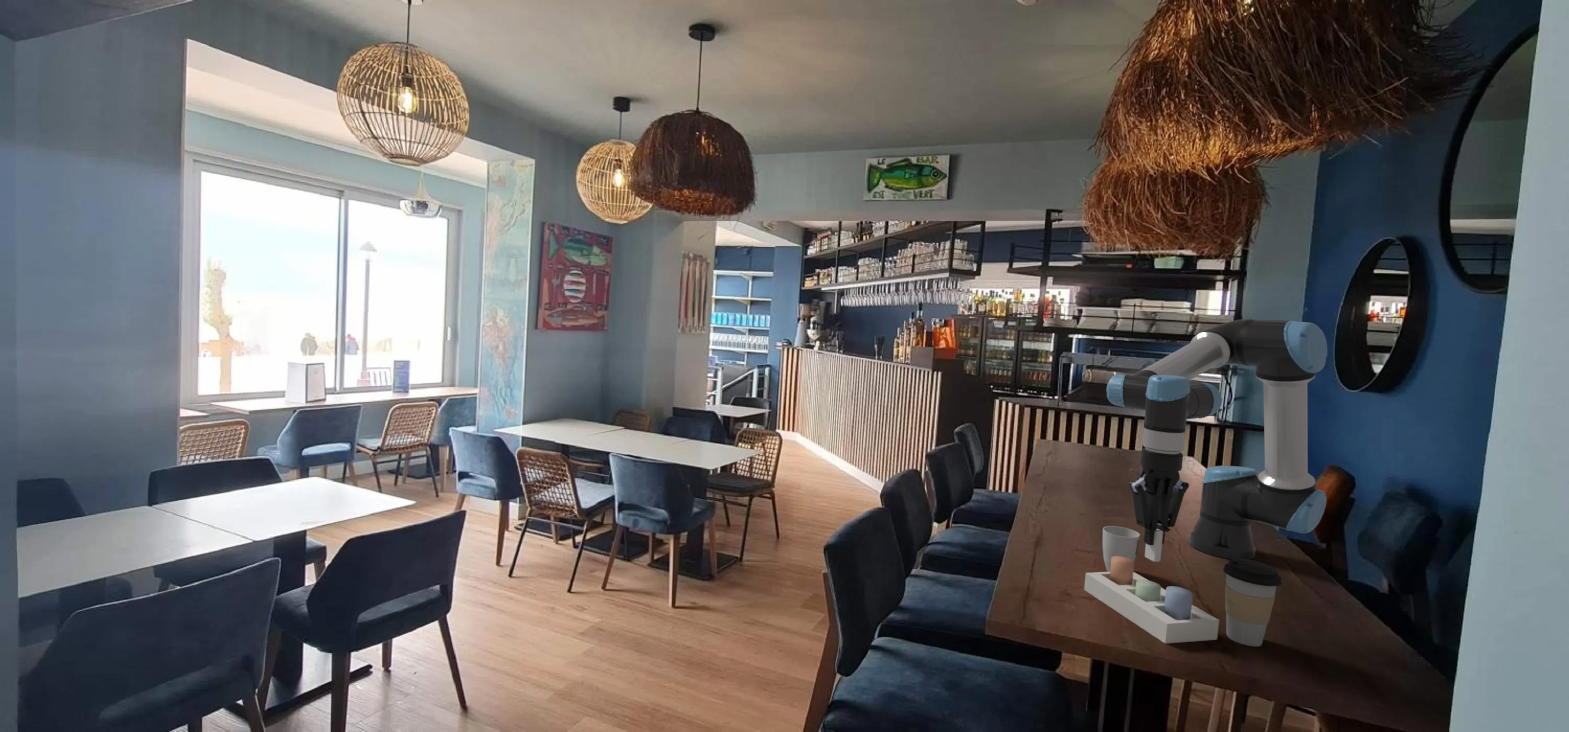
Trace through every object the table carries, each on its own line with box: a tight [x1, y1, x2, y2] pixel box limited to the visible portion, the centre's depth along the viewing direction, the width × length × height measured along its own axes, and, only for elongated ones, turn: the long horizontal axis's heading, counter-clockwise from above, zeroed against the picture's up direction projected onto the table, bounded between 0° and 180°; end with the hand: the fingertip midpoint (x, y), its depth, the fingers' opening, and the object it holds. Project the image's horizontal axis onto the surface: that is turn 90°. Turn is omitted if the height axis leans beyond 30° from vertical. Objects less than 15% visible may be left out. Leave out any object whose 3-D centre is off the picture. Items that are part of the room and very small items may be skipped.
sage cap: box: [1135, 579, 1162, 602], centre depth 140 cm, size 5×5×5 cm
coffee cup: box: [1222, 559, 1283, 647], centre depth 130 cm, size 9×9×15 cm
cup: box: [1102, 525, 1141, 572], centre depth 163 cm, size 8×8×10 cm
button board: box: [1083, 571, 1220, 644], centre depth 140 cm, size 12×24×4 cm, turn 12°
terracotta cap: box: [1109, 556, 1135, 585], centre depth 148 cm, size 5×5×5 cm
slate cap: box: [1164, 585, 1194, 620], centre depth 132 cm, size 5×5×5 cm
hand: (1152, 558), depth 140 cm, fingers closed
